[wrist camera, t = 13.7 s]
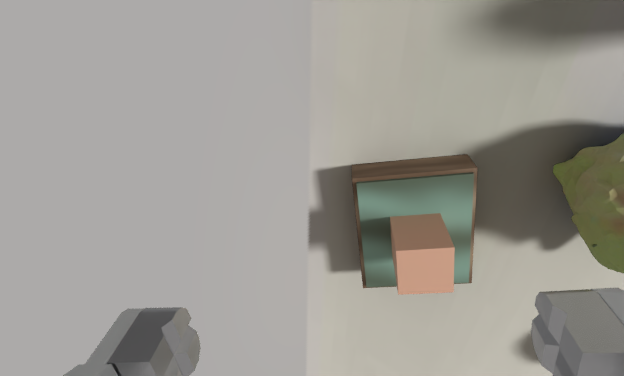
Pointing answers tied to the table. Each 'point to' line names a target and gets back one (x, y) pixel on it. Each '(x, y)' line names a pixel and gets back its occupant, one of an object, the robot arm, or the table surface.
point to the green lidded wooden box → (413, 209)
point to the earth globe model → (597, 199)
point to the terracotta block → (422, 254)
